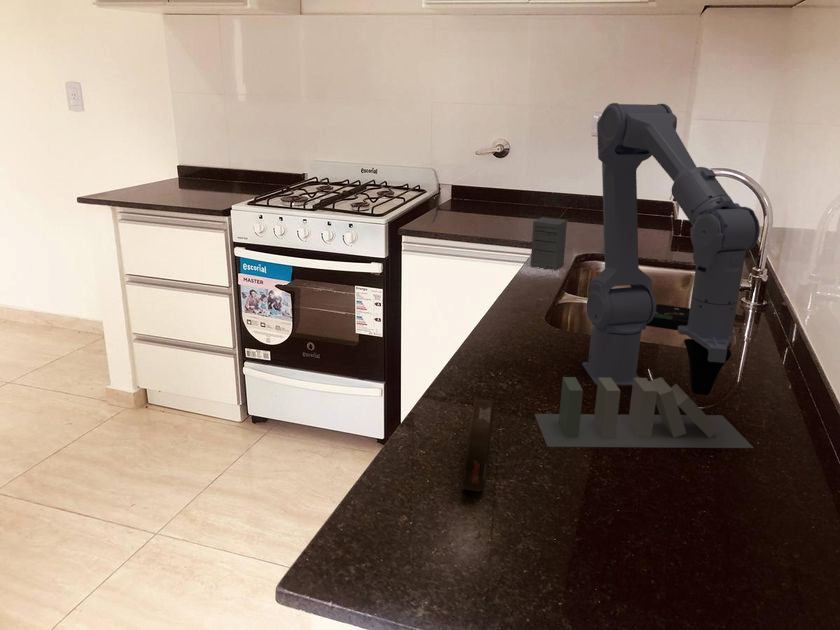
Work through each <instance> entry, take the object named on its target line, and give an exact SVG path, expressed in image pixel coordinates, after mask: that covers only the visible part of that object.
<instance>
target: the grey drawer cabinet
mask: <svg viewBox="0 0 840 630" xmlns="http://www.w3.org/2000/svg"><path fill="white" fill-rule="evenodd" d="M567 224H568V220H567V219H563V218H551V217H544V216H543V217H540V218H538V219H536V220H534V221H533V224H532V237H531V252H530V254H531V255H530V267H531V266H532V267H531V268H533V267H539V268H538V269H540V268H546V269H545V270H547V269H554V270H553V271H557V270H558V269H560V268H561V267H563V266H564V264H565V252H566V251H565V250H566V240H567V239H566V238H567V226H568V225H567ZM562 265H563V266H562ZM556 269H557V270H556Z"/></svg>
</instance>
